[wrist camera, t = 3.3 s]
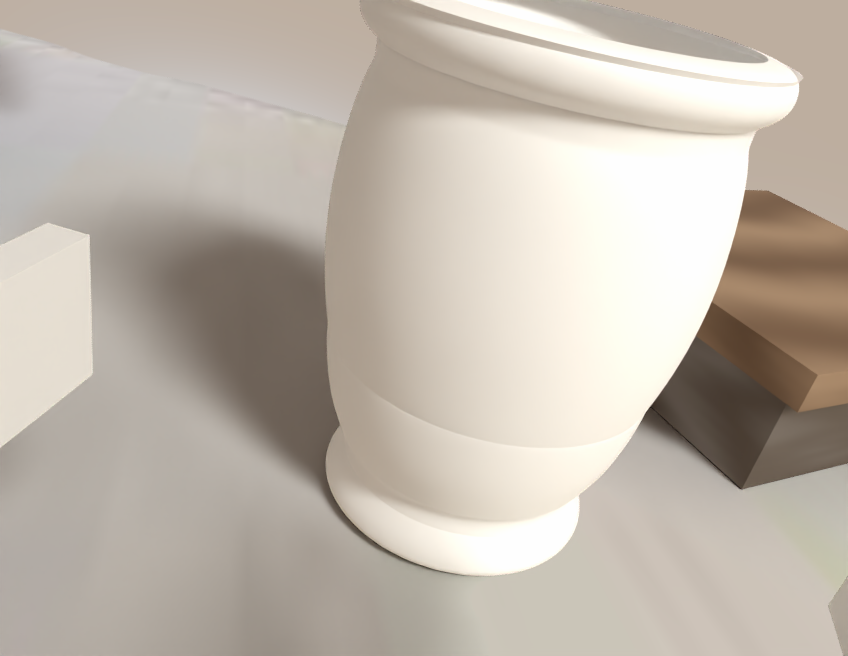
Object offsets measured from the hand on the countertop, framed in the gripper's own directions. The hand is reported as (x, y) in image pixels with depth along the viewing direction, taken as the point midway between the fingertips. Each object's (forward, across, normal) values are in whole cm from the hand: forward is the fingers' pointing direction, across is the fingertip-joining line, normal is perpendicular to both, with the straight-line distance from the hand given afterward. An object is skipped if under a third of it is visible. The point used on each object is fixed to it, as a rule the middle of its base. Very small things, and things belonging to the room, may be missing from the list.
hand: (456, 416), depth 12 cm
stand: (+25, +11, -10) cm, 29 cm away
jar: (+10, 0, -10) cm, 14 cm away
